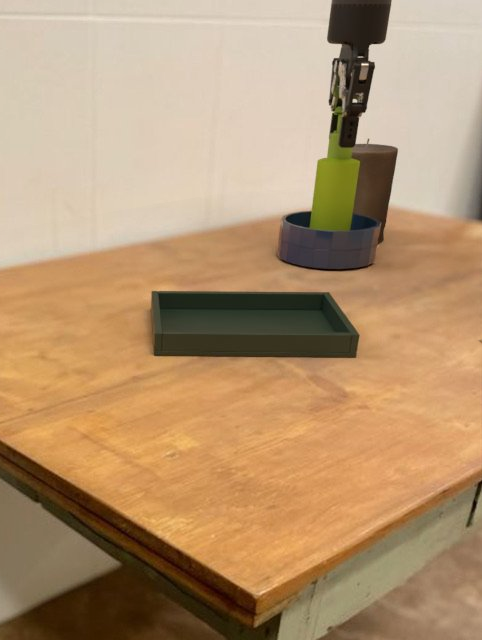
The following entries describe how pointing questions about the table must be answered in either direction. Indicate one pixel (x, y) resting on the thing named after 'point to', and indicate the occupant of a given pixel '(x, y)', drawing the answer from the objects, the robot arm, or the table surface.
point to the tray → (250, 324)
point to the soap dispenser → (335, 185)
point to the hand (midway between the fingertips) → (341, 143)
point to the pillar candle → (374, 180)
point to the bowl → (328, 242)
